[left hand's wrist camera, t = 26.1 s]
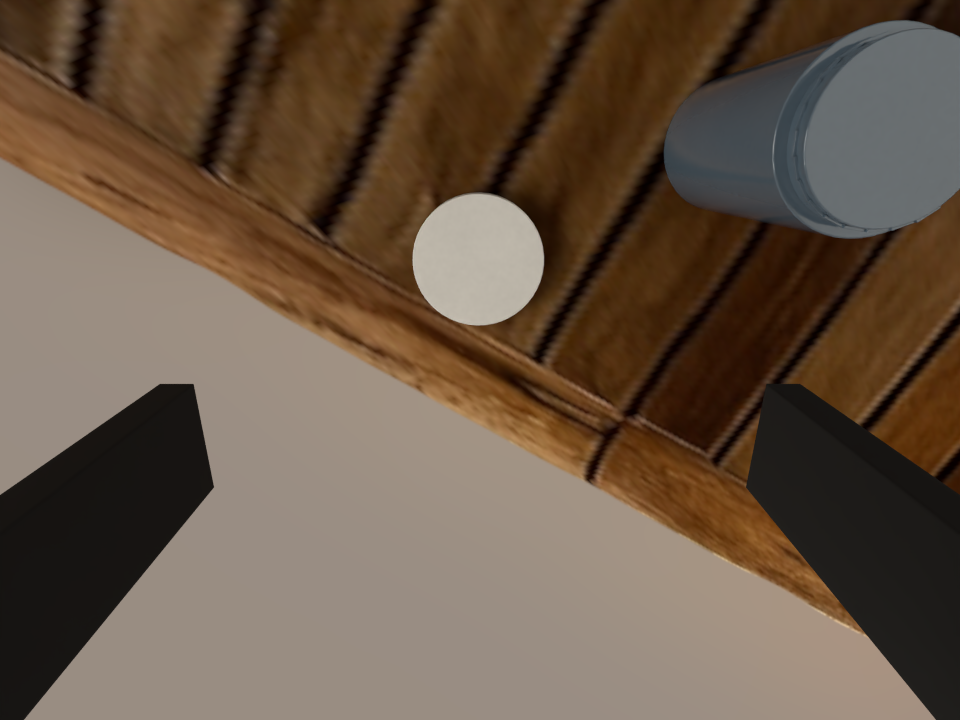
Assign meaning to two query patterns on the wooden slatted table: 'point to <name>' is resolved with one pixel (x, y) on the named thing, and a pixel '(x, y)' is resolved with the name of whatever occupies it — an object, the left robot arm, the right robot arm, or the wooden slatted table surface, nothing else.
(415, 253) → the lid
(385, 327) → the wooden slatted table surface
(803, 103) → the jar
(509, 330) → the wooden slatted table surface
